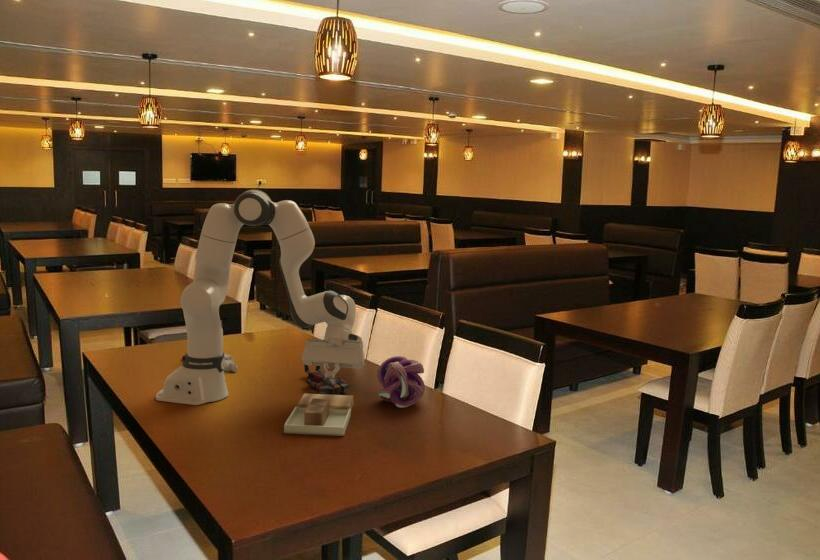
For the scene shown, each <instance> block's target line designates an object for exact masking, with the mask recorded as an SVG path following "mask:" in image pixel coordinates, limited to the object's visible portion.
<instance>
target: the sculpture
mask: <svg viewBox="0 0 820 560" xmlns="http://www.w3.org/2000/svg"><path fill="white" fill-rule="evenodd" d="M424 373H425V368H424V365H423V364H422V363H421V362H419V361H418V360H415V359H408V358H407V357H405V356H403V355H394V356H391V357H388V358H387V359H386V360H384V361H382V363H381V364H380V365H379V367H378V369H377V372H376V376H377V381H379V382H378V383H379V384H380V385H381V386H382V388H377V395H378V397H379V398H380V399H381V400H383V401H385V402H387V403H393V404H394V406H395V407H397V408H400V409H401V408H402V409H404V408H408V407H410V406H413V405H415V404H416V403H418V402H419V401H420V400H421V399H422V398H423V396H424V394H425V392H426V385H425V381H424V380H423V378H422V376H421V375H420V374H424Z"/></svg>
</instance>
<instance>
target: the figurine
mask: <svg viewBox="0 0 820 560" xmlns="http://www.w3.org/2000/svg"><path fill="white" fill-rule="evenodd" d="M303 364H304V363H303ZM303 368H304V373H306V374H307V378H306V379H307V380H306V384H308V385H310V386H311V387H312V388H314V390H315V391H316V392H317V394H327V395H330V394H333V393H334V394H333V395H341V394H342V393H344V392H346V391H347V390H348V389H349V388H350V385H349V383H348V382H347V381H346V380H344V379H343V378H342V375H341V376H339V375H337V378H325V370H322V369H321V366H315V371H312V370H310V368H309V365H305V364H304V367H303ZM333 370H334V369H327V371H333Z"/></svg>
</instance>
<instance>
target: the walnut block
mask: <svg viewBox="0 0 820 560" xmlns="http://www.w3.org/2000/svg"><path fill="white" fill-rule="evenodd" d="M328 416H329V399H314V398H313V399H312V401H311V403H310V404H309V406H308V407H307V409H306V411H305V412H304V425H313V426H324V424H325V422H326V420H327V418H328Z"/></svg>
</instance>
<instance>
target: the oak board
mask: <svg viewBox="0 0 820 560" xmlns="http://www.w3.org/2000/svg"><path fill="white" fill-rule="evenodd" d="M313 398H314V399H329V409H344V410H349V409H351V411H352V409H353V406H354V395H347V394H346V395H345V394H340V395H336V394H321V393H304V394H303V395H302V397H301V398H300V400H299V401H298V403H297V407H300V408H307V407H308V406H309V404H310V403H311V401H312V399H313Z"/></svg>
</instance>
